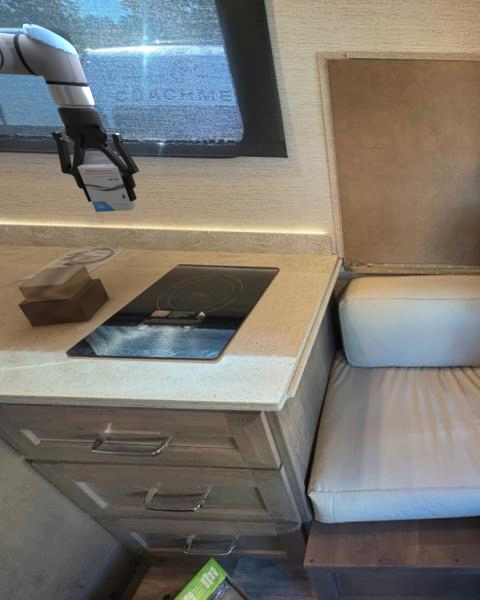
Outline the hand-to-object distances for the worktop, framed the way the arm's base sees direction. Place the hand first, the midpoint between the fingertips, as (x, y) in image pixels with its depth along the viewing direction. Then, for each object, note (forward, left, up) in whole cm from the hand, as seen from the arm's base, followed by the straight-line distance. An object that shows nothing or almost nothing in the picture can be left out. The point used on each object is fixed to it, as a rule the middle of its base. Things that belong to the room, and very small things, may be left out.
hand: (113, 200), depth 92 cm
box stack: (-7, -23, -22) cm, 32 cm away
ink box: (0, 0, -3) cm, 3 cm away
